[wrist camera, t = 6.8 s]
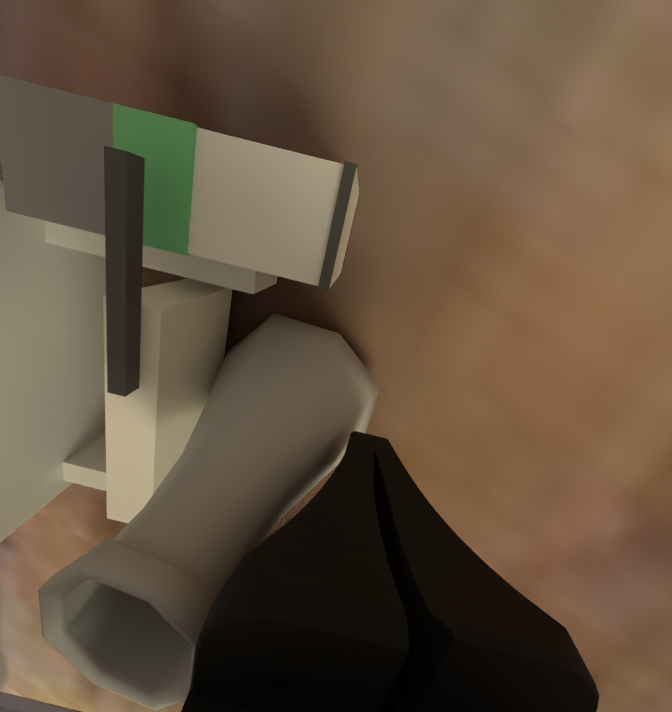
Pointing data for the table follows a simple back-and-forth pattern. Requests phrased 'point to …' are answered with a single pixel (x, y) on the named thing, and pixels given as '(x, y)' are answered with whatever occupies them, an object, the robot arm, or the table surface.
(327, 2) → the table surface
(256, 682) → the robot arm
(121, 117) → the gauge frame
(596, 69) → the table surface
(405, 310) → the table surface
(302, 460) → the grey vase
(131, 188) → the pad
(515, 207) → the table surface
